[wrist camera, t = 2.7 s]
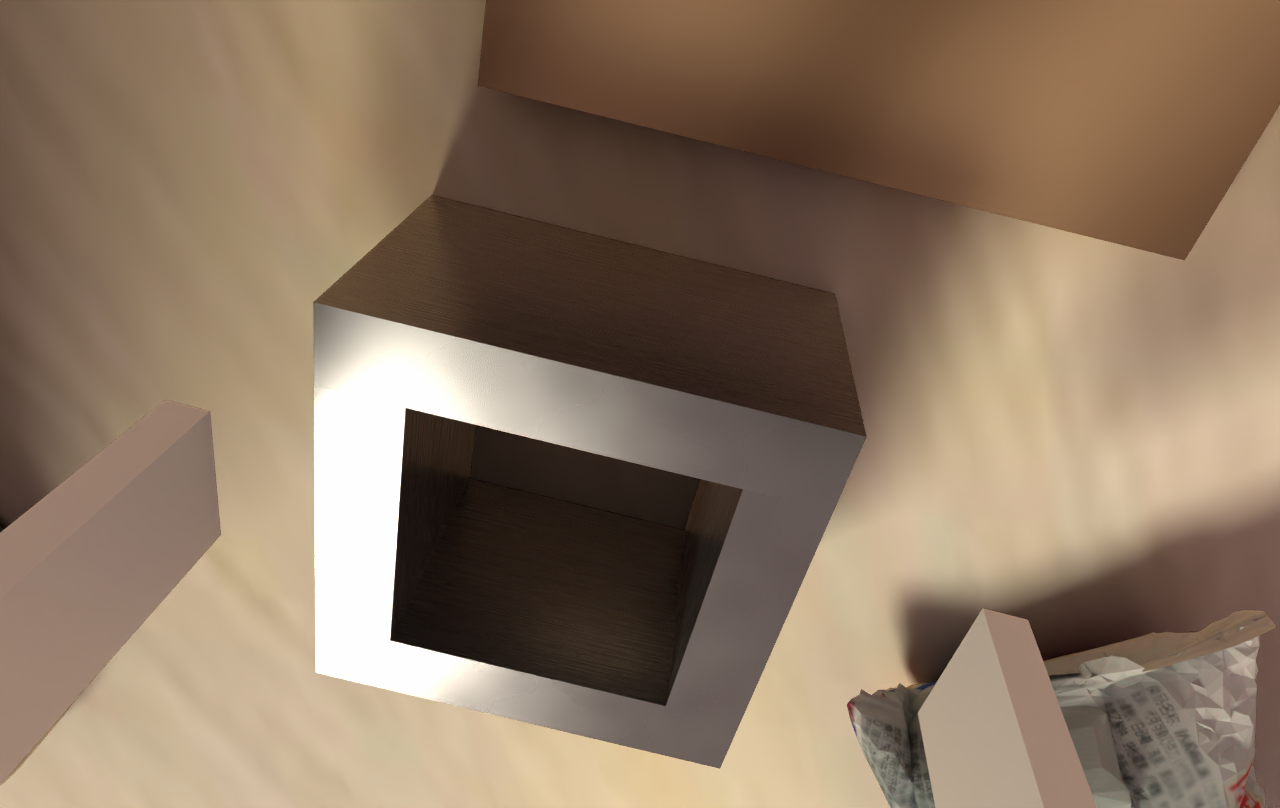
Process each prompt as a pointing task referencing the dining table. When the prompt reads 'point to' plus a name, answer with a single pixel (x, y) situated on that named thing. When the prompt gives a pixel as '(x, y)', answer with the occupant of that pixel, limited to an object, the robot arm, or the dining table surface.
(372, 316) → the link
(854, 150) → the stand
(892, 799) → the packaged food
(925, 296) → the dining table surface
